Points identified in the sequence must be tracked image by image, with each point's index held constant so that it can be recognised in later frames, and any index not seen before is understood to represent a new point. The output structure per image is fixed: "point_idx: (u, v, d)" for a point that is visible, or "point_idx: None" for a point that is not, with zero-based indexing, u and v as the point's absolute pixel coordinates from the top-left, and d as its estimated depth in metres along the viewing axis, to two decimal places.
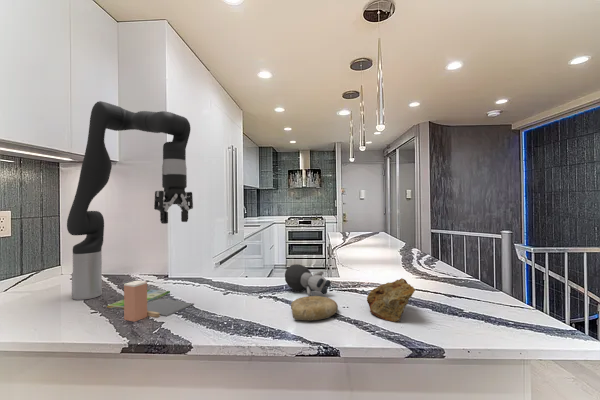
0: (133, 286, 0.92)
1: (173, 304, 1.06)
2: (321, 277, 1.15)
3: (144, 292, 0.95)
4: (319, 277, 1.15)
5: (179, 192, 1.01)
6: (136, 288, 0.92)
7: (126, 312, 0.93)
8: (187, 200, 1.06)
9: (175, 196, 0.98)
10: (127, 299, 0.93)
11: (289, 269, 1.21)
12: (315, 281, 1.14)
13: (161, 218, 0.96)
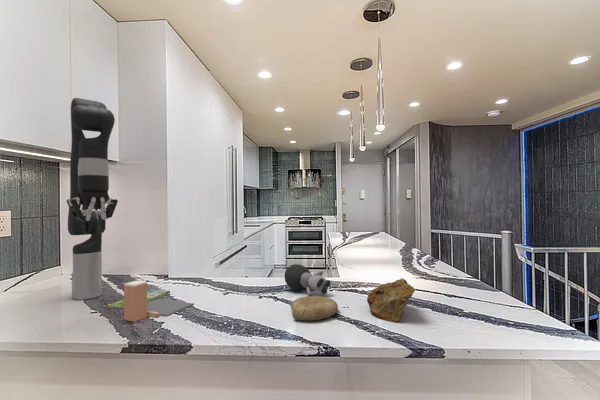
0: (133, 286, 0.92)
1: (173, 304, 1.06)
2: (321, 277, 1.15)
3: (144, 292, 0.95)
4: (319, 277, 1.15)
5: (99, 195, 0.89)
6: (136, 288, 0.92)
7: (126, 312, 0.93)
8: (108, 207, 0.93)
9: (93, 200, 0.87)
10: (127, 299, 0.93)
11: (289, 269, 1.21)
12: (315, 281, 1.14)
13: (82, 228, 0.86)
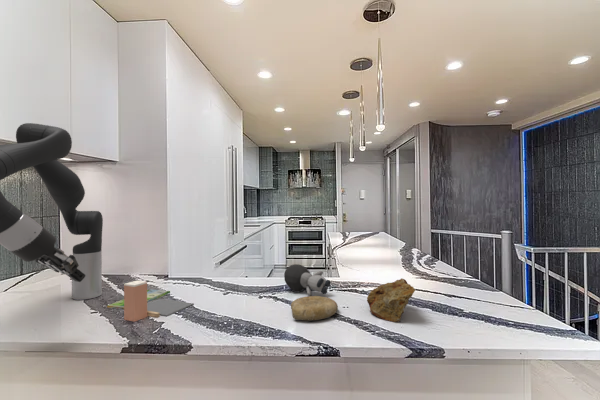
0: (133, 286, 0.92)
1: (173, 304, 1.06)
2: (321, 277, 1.15)
3: (144, 292, 0.95)
4: (319, 277, 1.15)
5: (45, 257, 0.71)
6: (136, 288, 0.92)
7: (126, 312, 0.93)
8: None
9: (42, 263, 0.73)
10: (127, 299, 0.93)
11: (289, 269, 1.21)
12: (315, 281, 1.14)
13: None
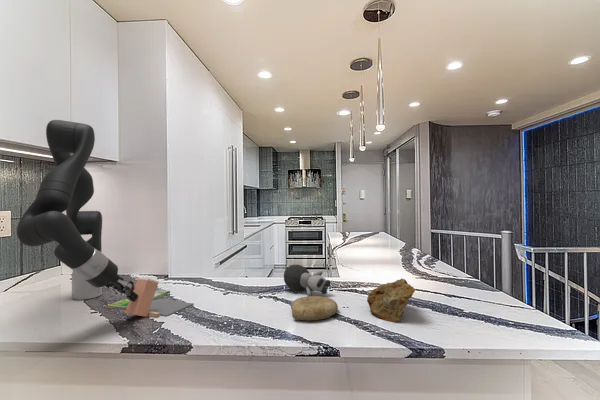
0: (147, 279, 0.96)
1: (173, 304, 1.06)
2: (321, 277, 1.15)
3: (153, 290, 0.98)
4: (319, 277, 1.15)
5: (109, 283, 0.86)
6: (148, 282, 0.96)
7: (130, 305, 0.94)
8: None
9: (106, 287, 0.87)
10: (136, 292, 0.95)
11: (288, 269, 1.20)
12: (315, 281, 1.14)
13: None
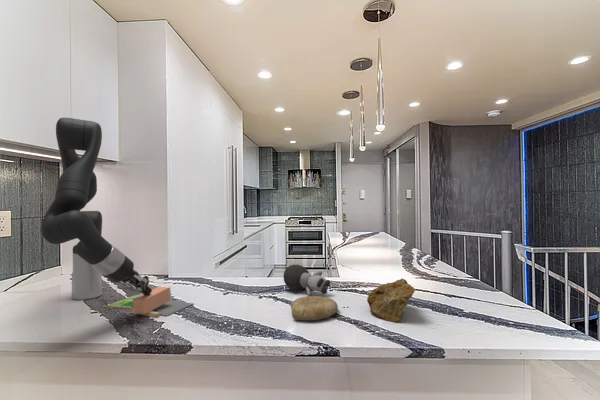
0: (168, 287, 1.04)
1: (173, 304, 1.06)
2: (321, 277, 1.15)
3: (164, 300, 1.02)
4: (319, 277, 1.15)
5: (126, 278, 0.90)
6: (167, 290, 1.03)
7: (141, 296, 0.98)
8: None
9: (122, 282, 0.92)
10: (152, 291, 1.01)
11: (288, 269, 1.20)
12: (315, 281, 1.14)
13: None
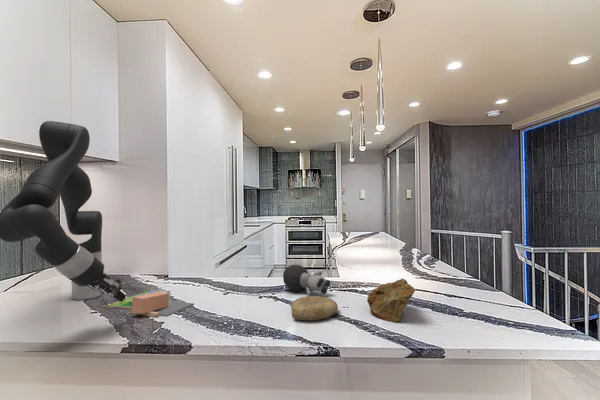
0: (168, 293, 1.04)
1: (173, 304, 1.06)
2: (321, 277, 1.15)
3: (162, 305, 1.01)
4: (319, 277, 1.15)
5: (95, 282, 0.82)
6: (167, 295, 1.03)
7: (141, 296, 0.98)
8: None
9: (91, 286, 0.83)
10: (152, 294, 1.01)
11: (288, 269, 1.20)
12: (315, 281, 1.14)
13: None
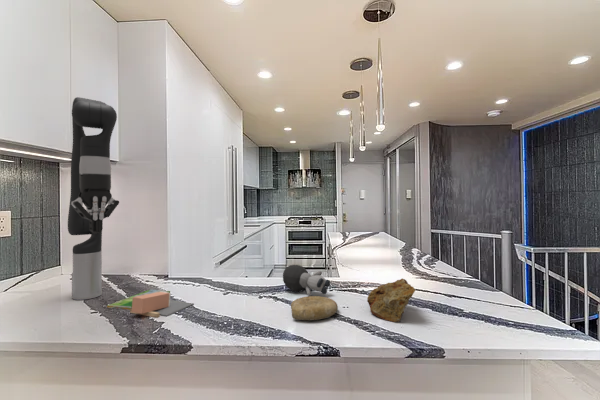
0: (168, 293, 1.04)
1: (173, 304, 1.06)
2: (321, 277, 1.15)
3: (162, 305, 1.01)
4: (319, 277, 1.15)
5: (101, 194, 0.88)
6: (167, 295, 1.03)
7: (141, 296, 0.98)
8: (108, 207, 0.91)
9: (95, 200, 0.85)
10: (152, 294, 1.01)
11: (287, 270, 1.20)
12: (315, 281, 1.14)
13: (90, 227, 0.87)
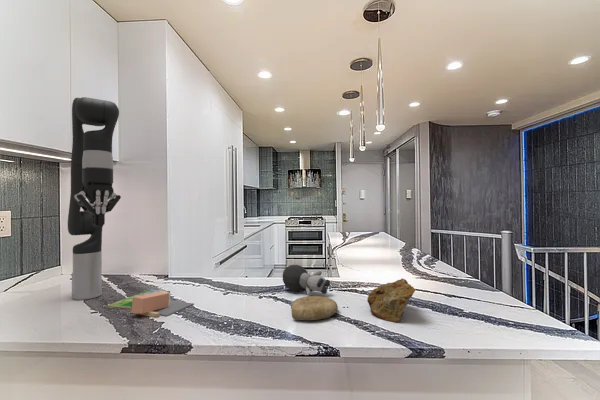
0: (168, 293, 1.04)
1: (173, 304, 1.06)
2: (321, 277, 1.15)
3: (162, 305, 1.01)
4: (319, 277, 1.15)
5: (104, 188, 0.89)
6: (167, 295, 1.03)
7: (141, 296, 0.98)
8: (110, 202, 0.91)
9: (98, 193, 0.86)
10: (152, 294, 1.01)
11: (287, 270, 1.20)
12: (315, 281, 1.14)
13: (93, 221, 0.87)
